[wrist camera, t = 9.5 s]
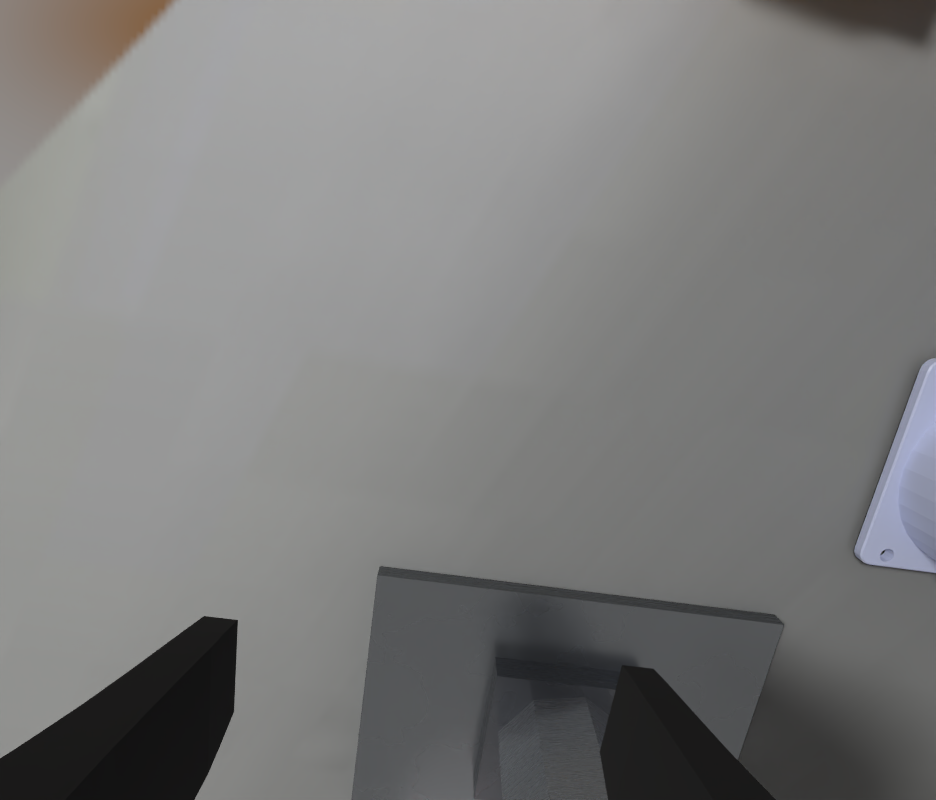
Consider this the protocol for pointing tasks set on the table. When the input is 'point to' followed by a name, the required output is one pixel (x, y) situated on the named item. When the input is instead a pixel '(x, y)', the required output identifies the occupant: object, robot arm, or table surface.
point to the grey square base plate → (529, 672)
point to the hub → (554, 751)
